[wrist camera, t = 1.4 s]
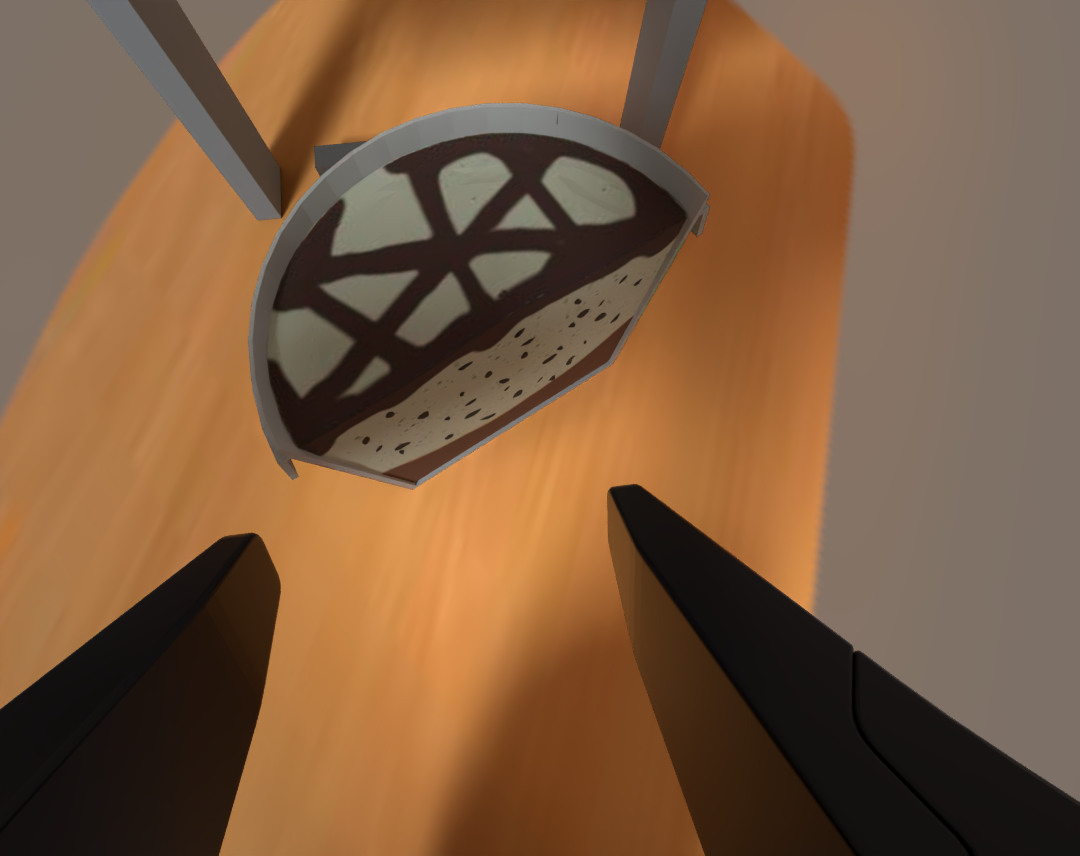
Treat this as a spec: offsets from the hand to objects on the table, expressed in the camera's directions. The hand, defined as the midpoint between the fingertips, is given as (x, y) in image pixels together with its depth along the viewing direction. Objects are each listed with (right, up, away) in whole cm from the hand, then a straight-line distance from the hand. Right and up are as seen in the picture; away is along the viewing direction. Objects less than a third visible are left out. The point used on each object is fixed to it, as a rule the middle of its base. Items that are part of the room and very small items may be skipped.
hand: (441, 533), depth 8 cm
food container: (-1, +4, +15) cm, 16 cm away
